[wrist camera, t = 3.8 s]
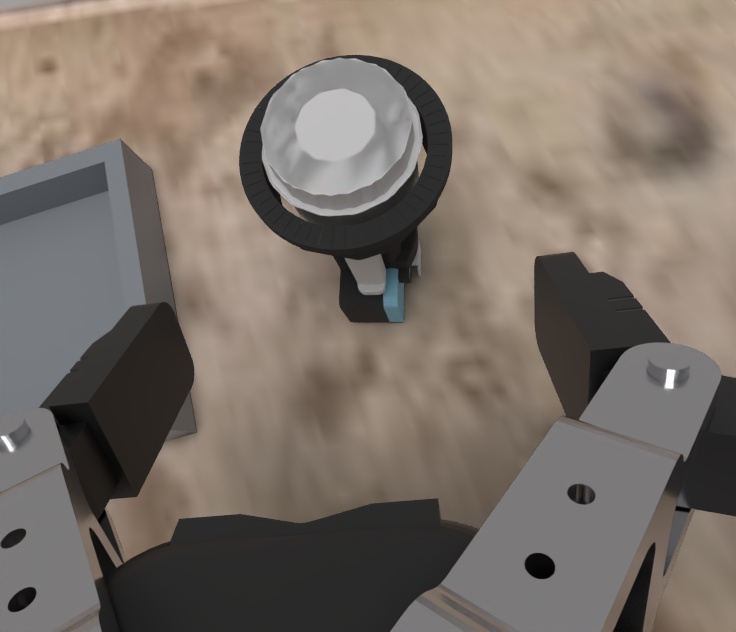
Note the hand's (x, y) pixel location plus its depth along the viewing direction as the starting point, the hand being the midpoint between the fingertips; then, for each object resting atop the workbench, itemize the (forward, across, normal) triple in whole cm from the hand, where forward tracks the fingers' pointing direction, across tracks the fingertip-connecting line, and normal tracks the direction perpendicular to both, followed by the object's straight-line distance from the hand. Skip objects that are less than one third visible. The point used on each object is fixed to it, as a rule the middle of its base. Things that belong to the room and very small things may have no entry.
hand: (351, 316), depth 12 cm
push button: (+10, 0, +3) cm, 11 cm away
